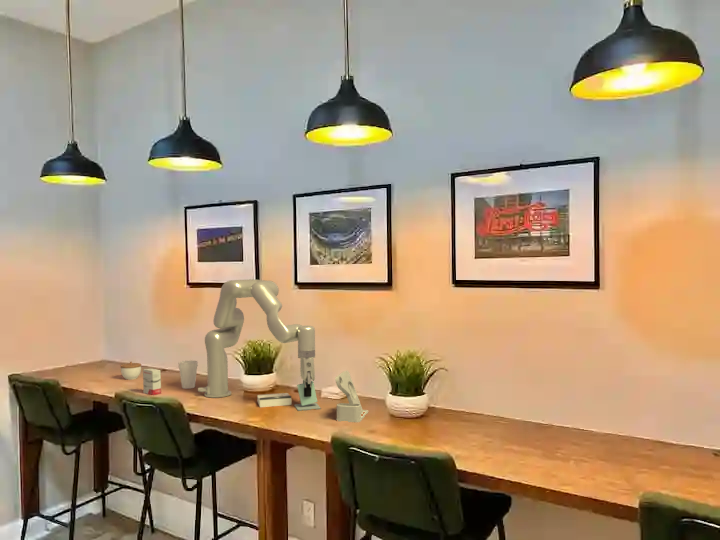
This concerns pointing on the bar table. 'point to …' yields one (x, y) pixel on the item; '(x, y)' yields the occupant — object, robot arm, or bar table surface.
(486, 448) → the bar table surface
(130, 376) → the lidded jar
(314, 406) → the mat
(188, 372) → the foam cup
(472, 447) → the bar table surface
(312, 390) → the ticket
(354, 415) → the phone holder
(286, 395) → the box
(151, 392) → the ink box
